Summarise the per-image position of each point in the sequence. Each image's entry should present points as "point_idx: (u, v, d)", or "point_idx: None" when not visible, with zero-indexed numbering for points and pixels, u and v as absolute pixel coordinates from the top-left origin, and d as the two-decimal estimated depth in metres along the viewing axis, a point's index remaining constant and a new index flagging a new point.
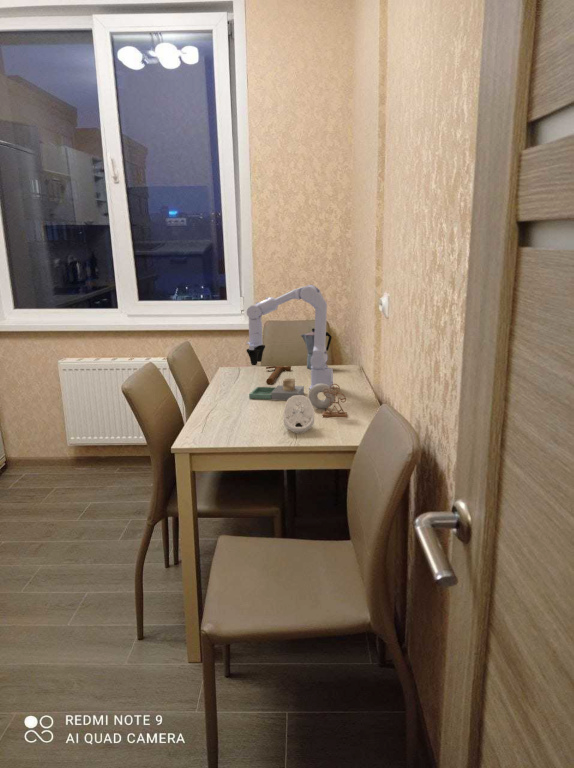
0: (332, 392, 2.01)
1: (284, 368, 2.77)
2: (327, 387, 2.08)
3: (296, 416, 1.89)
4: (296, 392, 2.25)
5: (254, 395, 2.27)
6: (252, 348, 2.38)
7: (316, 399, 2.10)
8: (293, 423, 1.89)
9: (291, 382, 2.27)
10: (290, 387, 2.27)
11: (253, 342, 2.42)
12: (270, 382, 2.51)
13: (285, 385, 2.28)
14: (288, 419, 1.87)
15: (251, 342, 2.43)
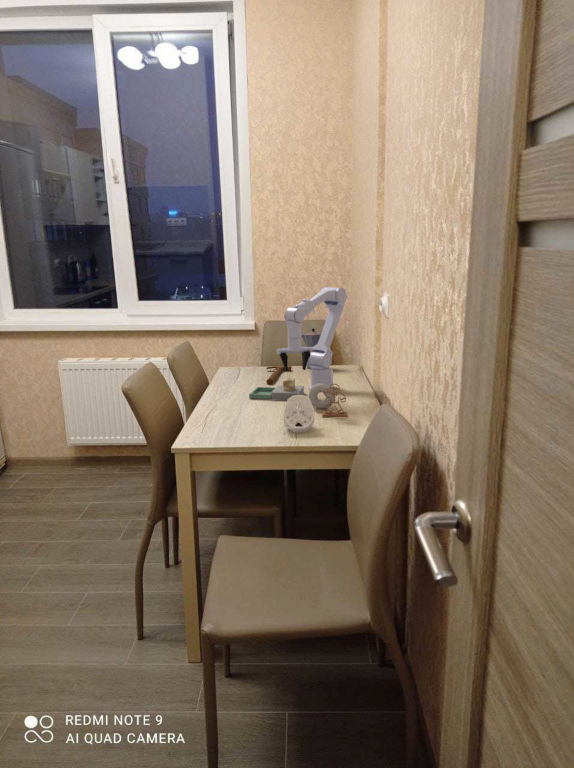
0: (332, 392, 2.01)
1: None
2: (327, 387, 2.08)
3: (296, 416, 1.89)
4: (296, 392, 2.25)
5: (254, 395, 2.27)
6: (277, 352, 2.27)
7: (316, 399, 2.10)
8: (293, 423, 1.89)
9: (291, 382, 2.27)
10: (290, 387, 2.27)
11: (288, 347, 2.28)
12: (271, 383, 2.51)
13: (285, 385, 2.28)
14: (288, 419, 1.88)
15: None
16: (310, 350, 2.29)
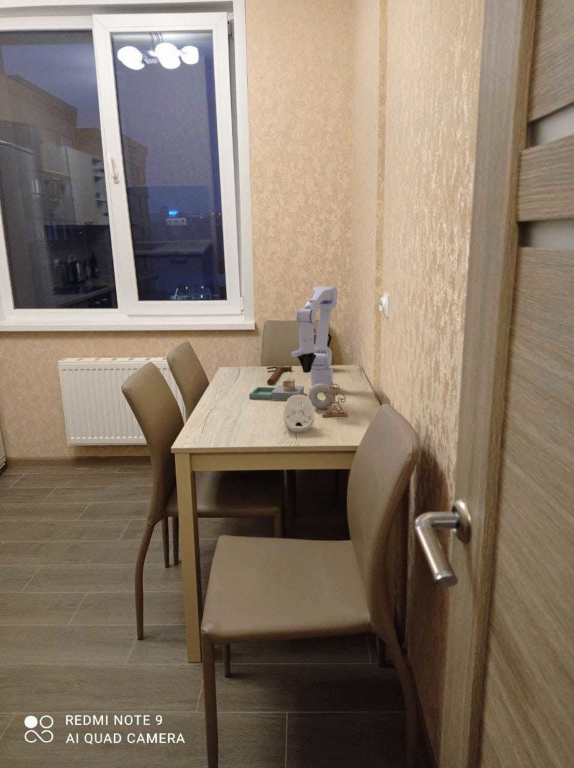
0: (332, 392, 2.01)
1: (285, 368, 2.76)
2: (327, 387, 2.08)
3: (296, 415, 1.90)
4: (296, 392, 2.25)
5: (254, 395, 2.27)
6: (293, 355, 2.20)
7: (316, 399, 2.10)
8: (293, 422, 1.89)
9: (291, 382, 2.27)
10: (290, 387, 2.27)
11: (300, 349, 2.23)
12: (271, 383, 2.50)
13: (285, 385, 2.28)
14: (288, 418, 1.88)
15: None
16: (320, 350, 2.28)
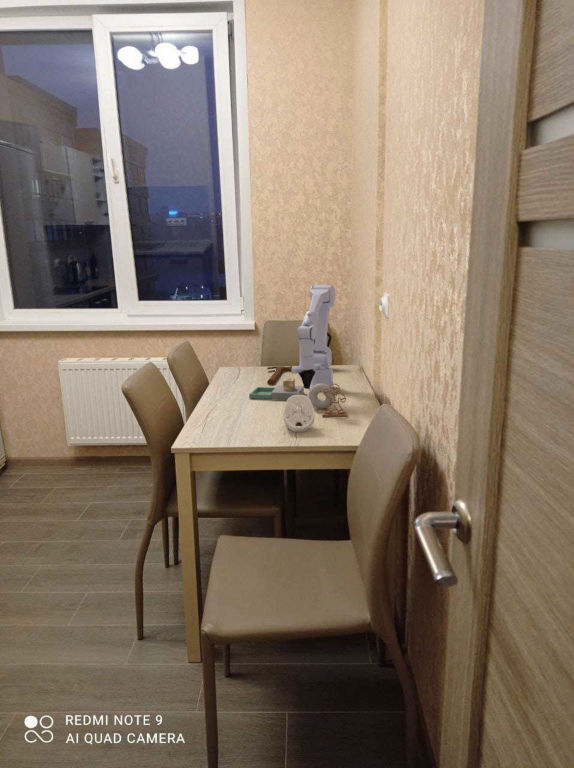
0: (332, 392, 2.01)
1: (285, 369, 2.76)
2: (327, 387, 2.08)
3: (296, 415, 1.90)
4: (296, 392, 2.25)
5: (254, 395, 2.27)
6: (293, 372, 2.21)
7: (316, 399, 2.10)
8: (293, 422, 1.89)
9: (291, 382, 2.27)
10: (290, 387, 2.27)
11: (300, 365, 2.24)
12: (271, 383, 2.50)
13: (285, 385, 2.28)
14: (288, 418, 1.88)
15: (299, 365, 2.25)
16: (320, 367, 2.29)
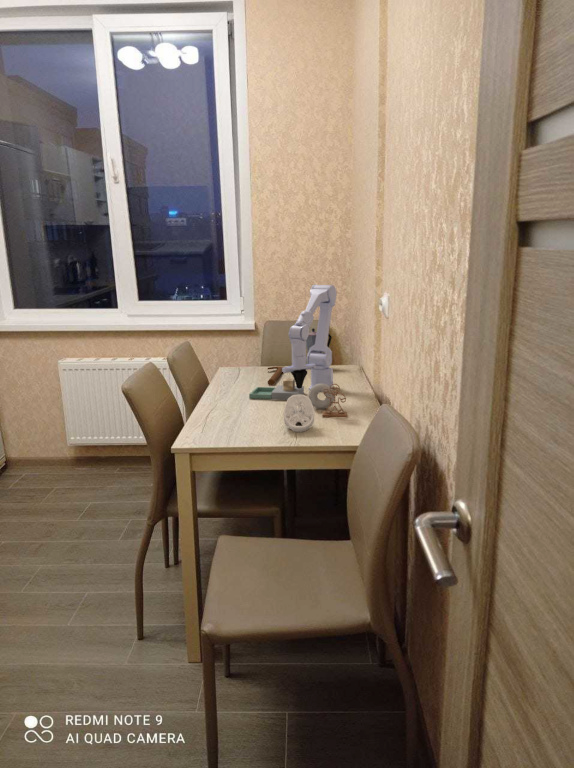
0: (332, 392, 2.01)
1: None
2: (327, 387, 2.08)
3: (296, 415, 1.90)
4: (296, 392, 2.25)
5: (254, 395, 2.27)
6: (283, 371, 2.23)
7: (316, 399, 2.10)
8: (293, 422, 1.90)
9: (291, 382, 2.27)
10: (290, 387, 2.27)
11: (292, 365, 2.25)
12: (272, 383, 2.49)
13: (285, 385, 2.28)
14: (288, 418, 1.88)
15: (292, 364, 2.26)
16: (313, 367, 2.29)
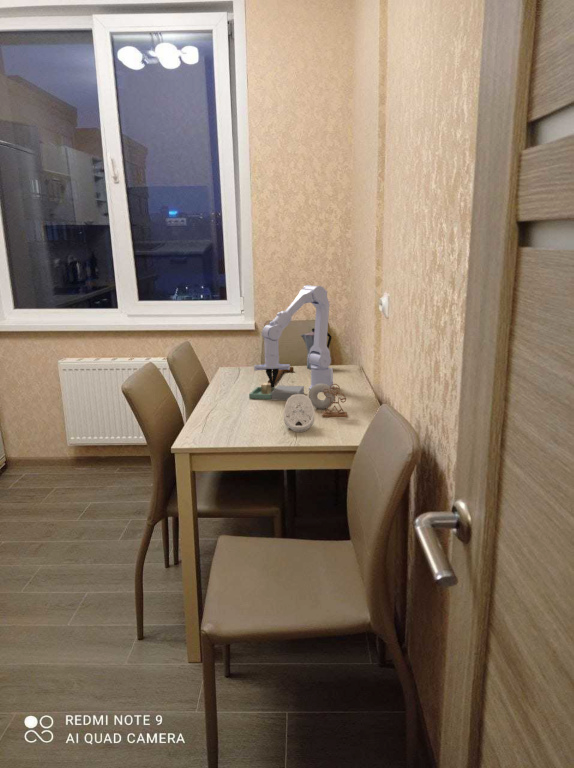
0: (332, 392, 2.01)
1: None
2: (327, 387, 2.08)
3: (296, 415, 1.90)
4: (296, 392, 2.25)
5: (254, 395, 2.27)
6: (254, 368, 2.29)
7: (316, 399, 2.10)
8: (293, 422, 1.90)
9: (262, 386, 2.32)
10: (268, 387, 2.32)
11: (265, 363, 2.29)
12: None
13: (266, 392, 2.32)
14: (288, 418, 1.89)
15: None
16: (287, 368, 2.28)
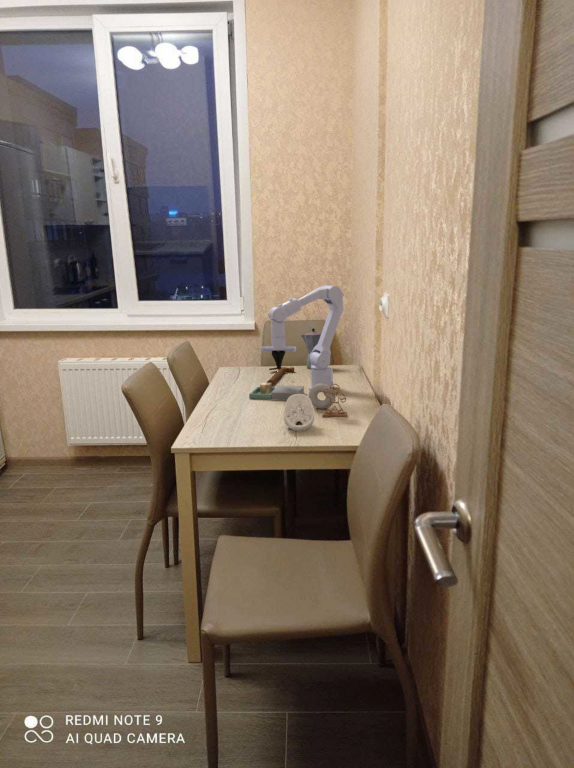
0: (332, 392, 2.01)
1: (287, 370, 2.73)
2: (327, 387, 2.08)
3: (296, 415, 1.91)
4: (296, 392, 2.25)
5: (254, 395, 2.27)
6: None
7: (316, 399, 2.10)
8: (293, 422, 1.90)
9: (261, 386, 2.32)
10: (266, 387, 2.32)
11: None
12: None
13: (264, 392, 2.33)
14: (288, 418, 1.89)
15: None
16: (293, 350, 2.31)
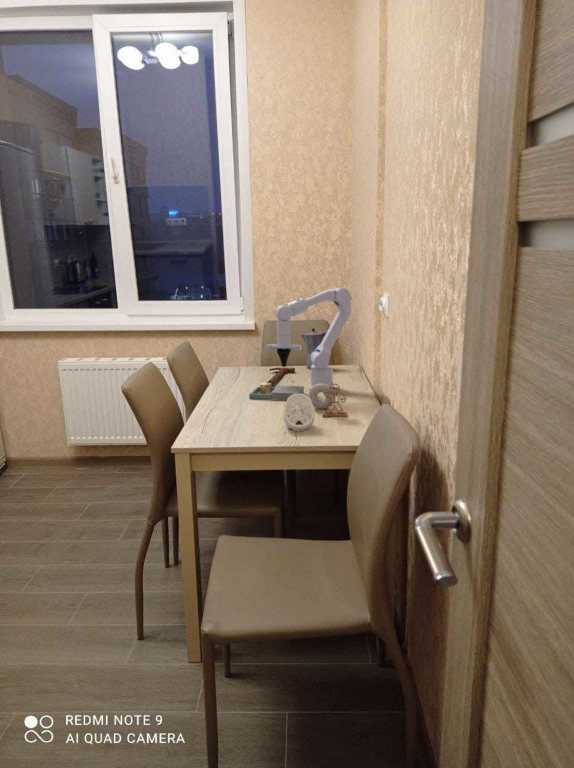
0: (332, 392, 2.01)
1: (288, 370, 2.72)
2: (327, 387, 2.08)
3: (296, 414, 1.91)
4: (296, 392, 2.25)
5: (254, 395, 2.27)
6: None
7: (316, 399, 2.10)
8: (293, 421, 1.91)
9: (261, 386, 2.32)
10: (266, 387, 2.32)
11: None
12: None
13: (264, 392, 2.33)
14: (288, 417, 1.89)
15: None
16: (298, 348, 2.34)
